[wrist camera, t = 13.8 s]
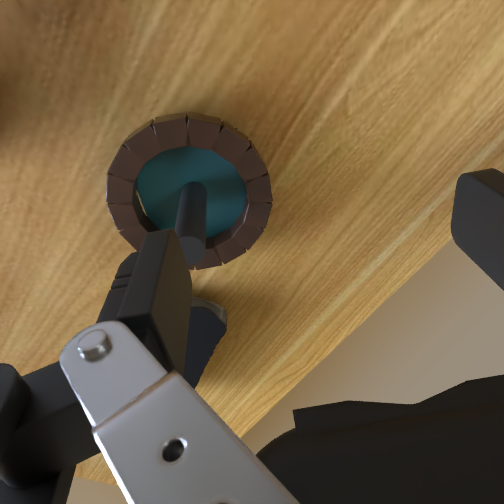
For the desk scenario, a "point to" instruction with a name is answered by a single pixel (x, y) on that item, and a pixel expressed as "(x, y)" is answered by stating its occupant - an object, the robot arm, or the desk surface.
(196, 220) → the post stand
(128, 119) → the desk surface
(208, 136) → the ring
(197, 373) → the black board eraser
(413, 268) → the desk surface
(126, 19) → the desk surface
